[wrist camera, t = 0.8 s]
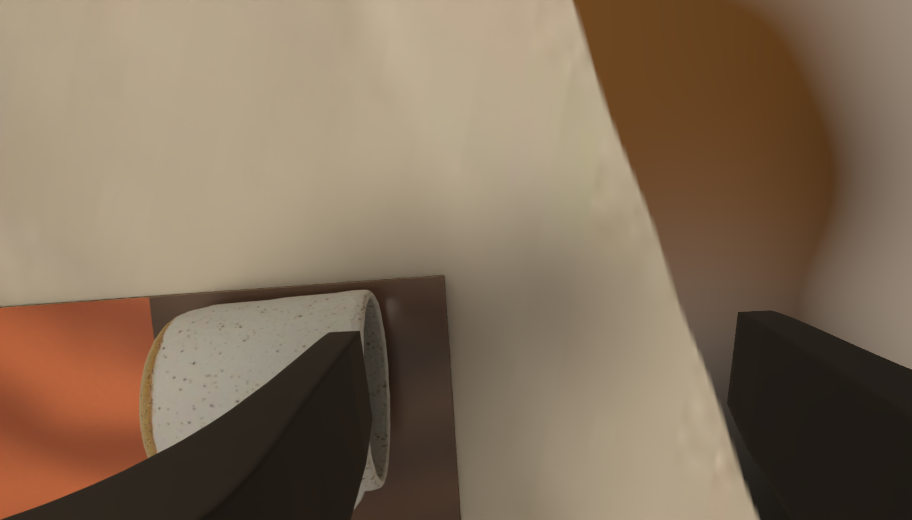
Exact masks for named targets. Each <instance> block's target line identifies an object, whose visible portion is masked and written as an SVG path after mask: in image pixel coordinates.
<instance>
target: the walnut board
mask: <svg viewBox="0 0 912 520" xmlns="http://www.w3.org/2000/svg"><path fill="white" fill-rule="evenodd" d="M353 290H369V291H371V292H372V293H373V294H374V295H375V298H376V299H377V301H378V302H379V307H380V311H381V315H382V322H383V327H384V332H385V339H386V350H387V359H388V370H389V375H388V379H389V391H390V448H389V463H388V471H387V477H386V479H385V482H384V484H383V486H382V487H381V488H378V489H375V490H372V491H365V493H364V495H363V497H362V500H361V502H360V503H359V504H358V505H357V506H356V508H355V509H354V510H353V514H352V517H351V520H461V516H460V501H459V486H458V471H457V457H456V442H455V427H454V412H453V397H452V383H451V368H450V353H449V338H448V323H447V309H446V294H445V279H444V275H439V276H425V277H411V278H397V279H383V280H370V281H356V282H342V283H328V284H314V285H300V286H286V287H273V288H259V289H245V290H231V291H217V292H203V293H190V294H176V295H162V296H148V297H134V298H120V299H106V300H93V301H79V302H65V303H51V304H37V305H23V306H9V307H0V520H1V519H3V518H6V517H9V516H12V515H15V514H18V513H21V512H24V511H27V510H29V509H32V508H35V507H38V506H41V505H43V504H46V503H48V502H51V501H54V500H56V499H59V498H61V497H64V496H66V495H69V494H71V493H73V492H76V491H78V490H81V489H83V488H86V487H88V486H90V485H93V484H95V483H97V482H99V481H102V480H104V479H106V478H108V477H111V476H113V475H115V474H117V473H119V472H122V471H124V470H126V469H128V468H130V467H132V466H134V465H135V464H137V463H139V462H141V461H143V460H145V459H147V458H148V457H147V454H146V451H145V448H144V445H143V440H142V435H141V430H140V419H139V395H140V385H141V379H142V374H143V369H144V364H145V361H146V358H147V355H148V353H149V351H150V349H151V346H152V344H153V342H154V340H155V339H156V337H157V336H158V334H159V333H160V332H161V330H162V329H163V328H164V326H165V325H166V324H168V323H169V322H170V321H171V320H172V319H174V318H175V317H177V316H179V315H181V314H184V313H186V312H189V311H192V310H196V309H201V308H205V307H209V306H212V305H218V304H228V303H238V302H250V301H263V300H273V299H279V298H285V297H296V296H307V295H318V294H329V293H338V292H345V291H353Z"/></svg>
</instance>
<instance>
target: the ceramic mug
mask: <svg viewBox="0 0 912 520" xmlns="http://www.w3.org/2000/svg"><path fill="white" fill-rule="evenodd" d="M342 331H360V334H361V341H362V348H363V355H364V362H365V369H366V376H367V383H368V390H369V397H370V404H371V411H372V418H373V419H372V427H371V435H370V442H369V449H368V456H367V462H366V467H365V470H364V474H363V478H362V481H361V485H360V489H359V492H358V496H357V500H356V503H355V507H354V509H355V508H356V506H357V505H358V504H359V503H360V502H361V500H362V497H363V495H364V493H365V491H372V490H375V489H378V488H381V487H382V486H383V484H384V482H385V479H386V477H387V471H388V463H389V448H390V391H389V379H388V375H389V370H388V359H387V350H386V339H385V332H384V327H383V322H382V315H381V311H380V307H379V302H378V301H377V299H376V298H375V295H374V294H373V293H372V292H371V291H369V290H353V291H345V292H338V293H329V294H318V295H307V296H296V297H285V298H279V299H273V300H263V301H250V302H238V303H228V304H218V305H212V306H209V307H205V308H201V309H196V310H192V311H189V312H186V313H184V314H181V315H179V316H177V317H175V318H174V319H172V320H171V321H170V322H169V323H168V324H166V325H165V326H164V328H163V329H162V330H161V332H160V333H159V334H158V336H157V337H156V339H155V340H154V342H153V344H152V346H151V349H150V351H149V353H148V355H147V358H146V361H145V364H144V369H143V374H142V379H141V385H140V395H139V419H140V430H141V435H142V440H143V445H144V448H145V451H146V454H147V457H148V458H149V457H151V456H153V455H155V454H157V453H159V452H161V451H163V450H165V449H167V448H169V447H171V446H172V445H174V444H176V443H178V442H180V441H181V440H183V439H185V438H187V437H188V436H190V435H192V434H193V433H195V432H196V431H198V430H200V429H201V428H203V427H205V426H206V425H208V424H210V423H211V422H213V421H214V420H216V419H217V418H219V417H220V416H222V415H223V414H225V413H226V412H228V411H229V410H231V409H232V408H233V407H235V406H236V405H237V404H239V403H240V402H241V401H243V400H244V399H246V398H247V397H248V396H250V395H251V394H252V393H254V392H255V391H256V390H258V389H259V388H260V387H262V386H263V385H264V384H266V383H267V382H268V381H270V380H271V379H272V378H273V377H275V376H276V375H277V374H278V373H279V372H281V371H282V370H283V369H284V368H285V367H287V366H288V365H289V364H290V363H292V362H293V361H294V360H295V359H296V358H298V357H299V356H300V355H301V354H302V353H303V352H305V351H306V350H307V349H308V348H309V347H311V346H312V345H313V344H314V343H315V342H317V341H318V340H319V339H320V338H322V337H323V336H324V335H326V334H327V333H329V332H342Z"/></svg>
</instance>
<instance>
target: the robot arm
mask: <svg viewBox="0 0 912 520" xmlns="http://www.w3.org/2000/svg"><path fill="white" fill-rule="evenodd" d="M727 404H728V406H729V409H730V411H731V414H732V416H733V418H734V421H735V423H736V425H737V428H738V430H739V432H740V434H741V436H742V439H743V441H744V443H745V445H746V447H747V449H748V451H749V453H750V454H751V456H752V458H753V459H754V461H755V462H756V464H757V466H758V467H759V469H760V471H761V472H762V474H763V476H764V477H765V479H766V480H767V482H768V484H769V485H770V487H771V488H772V490H773V491H774V493H775V495H776V496H777V498H778V499H779V501H780V503H781V504H782V506H783V507H784V509H785V510H786V512H787V514H788V515H789V517H790V518H791V520H912V370H911V369H909V368H906V367H904V366H901V365H899V364H897V363H894V362H892V361H890V360H887V359H885V358H882V357H880V356H878V355H875V354H873V353H871V352H869V351H867V350H864V349H862V348H860V347H857V346H855V345H853V344H850V343H849V342H846V341H844V340H842V339H840V338H837V337H835V336H833V335H831V334H829V333H826V332H824V331H822V330H820V329H817V328H815V327H813V326H810V325H808V324H806V323H804V322H801V321H798V320H796V319H794V318H792V317H789V316H786V315H784V314H781V313H778V312H774V311H751V312H738V317H737V326H736V334H735V343H734V351H733V359H732V367H731V376H730V384H729V392H728V401H727ZM372 419H373V418H372V411H371V404H370V397H369V390H368V383H367V376H366V369H365V362H364V355H363V348H362V341H361V334H360V331H342V332H329V333H327V334H326V335H324V336H323V337H322V338H320V339H319V340H318V341H317V342H315V343H314V344H313V345H312V346H311V347H309V348H308V349H307V350H306V351H305V352H303V353H302V354H301V355H300V356H299V357H298V358H296V359H295V360H294V361H293V362H292V363H290V364H289V365H288V366H287V367H285V368H284V369H283V370H282V371H281V372H279V373H278V374H277V375H276V376H275V377H273V378H272V379H271V380H270V381H268V382H267V383H266V384H264V385H263V386H262V387H260V388H259V389H258V390H256V391H255V392H254V393H252V394H251V395H250V396H248V397H247V398H246V399H244V400H243V401H241V402H240V403H239V404H237V405H236V406H235V407H233V408H232V409H231V410H229V411H228V412H226V413H225V414H223V415H222V416H220V417H219V418H217V419H216V420H214V421H213V422H211V423H210V424H208V425H206V426H205V427H203V428H201V429H200V430H198V431H196V432H195V433H193V434H192V435H190V436H188V437H187V438H185V439H183V440H181V441H180V442H178V443H176V444H174V445H172V446H171V447H169V448H167V449H165V450H163V451H161V452H159V453H157V454H155V455H153V456H151V457H149V458H147V459H145V460H143V461H141V462H139V463H137V464H135V465H134V466H132V467H130V468H128V469H126V470H124V471H122V472H119V473H117V474H115V475H113V476H111V477H108V478H106V479H104V480H102V481H99V482H97V483H95V484H93V485H90V486H88V487H86V488H83V489H81V490H78V491H76V492H73V493H71V494H69V495H66V496H64V497H61V498H59V499H56V500H54V501H51V502H48V503H46V504H43V505H41V506H38V507H35V508H32V509H29V510H27V511H24V512H21V513H18V514H15V515H12V516H9V517H6V518H3V519H1V520H351V517H352V514H353V510H354V507H355V503H356V500H357V496H358V492H359V489H360V485H361V481H362V478H363V474H364V470H365V467H366V462H367V456H368V449H369V442H370V435H371V427H372Z"/></svg>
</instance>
